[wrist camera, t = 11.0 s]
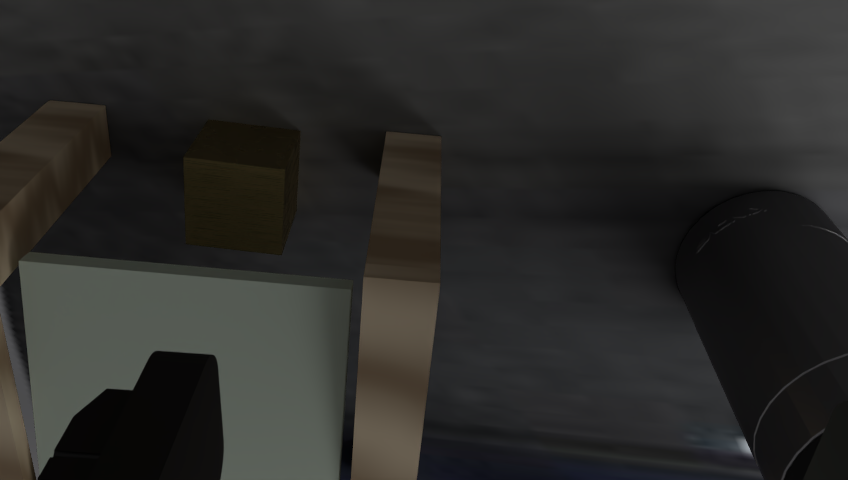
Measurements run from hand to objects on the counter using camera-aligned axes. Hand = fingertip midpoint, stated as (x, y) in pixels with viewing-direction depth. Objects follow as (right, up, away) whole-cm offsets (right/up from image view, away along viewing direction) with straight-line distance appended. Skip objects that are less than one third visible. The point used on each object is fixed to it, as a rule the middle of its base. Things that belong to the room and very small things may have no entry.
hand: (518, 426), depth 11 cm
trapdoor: (-12, -7, +30) cm, 33 cm away
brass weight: (-11, +3, +34) cm, 36 cm away
